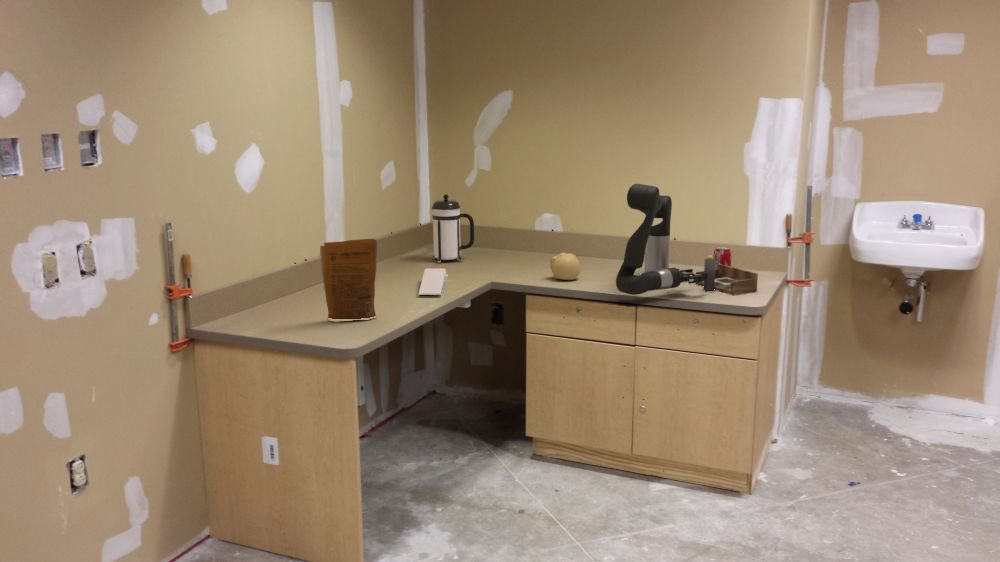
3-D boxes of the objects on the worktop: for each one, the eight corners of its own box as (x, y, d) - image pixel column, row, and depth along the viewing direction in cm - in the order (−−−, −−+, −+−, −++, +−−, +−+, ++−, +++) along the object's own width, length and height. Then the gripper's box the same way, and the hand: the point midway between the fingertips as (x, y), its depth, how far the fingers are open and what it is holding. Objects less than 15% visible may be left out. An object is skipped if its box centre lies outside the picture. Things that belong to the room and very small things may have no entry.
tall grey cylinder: (701, 290, 341) (702, 255, 338) (709, 288, 343) (710, 254, 340) (708, 292, 338) (709, 257, 335) (716, 290, 339) (717, 256, 336)
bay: (695, 284, 350) (696, 266, 349) (718, 280, 356) (719, 263, 354) (733, 295, 332) (733, 276, 331) (756, 291, 338) (757, 273, 336)
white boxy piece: (440, 312, 335) (445, 285, 361) (444, 294, 332) (449, 269, 359) (414, 306, 334) (421, 280, 360) (418, 288, 332) (425, 263, 358)
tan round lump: (570, 274, 370) (570, 249, 367) (585, 280, 359) (585, 254, 357) (546, 277, 365) (546, 251, 362) (560, 283, 354) (560, 256, 352)
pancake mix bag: (381, 321, 301) (378, 239, 294) (323, 324, 297) (319, 242, 291) (380, 316, 307) (376, 236, 301) (323, 319, 304) (319, 238, 297)
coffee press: (452, 265, 390) (451, 197, 383) (424, 261, 398) (422, 195, 392) (475, 258, 404) (474, 193, 397) (447, 255, 413) (445, 190, 406)
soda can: (730, 278, 360) (732, 249, 357) (712, 278, 361) (714, 249, 358) (730, 275, 366) (731, 246, 364) (712, 274, 368) (713, 245, 365)
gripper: (678, 272, 322) (712, 267, 329) (653, 265, 334) (687, 260, 342) (677, 292, 324) (711, 287, 331) (653, 284, 336) (686, 280, 343)
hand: (699, 273), depth 336 cm, fingers open, 8 cm apart
